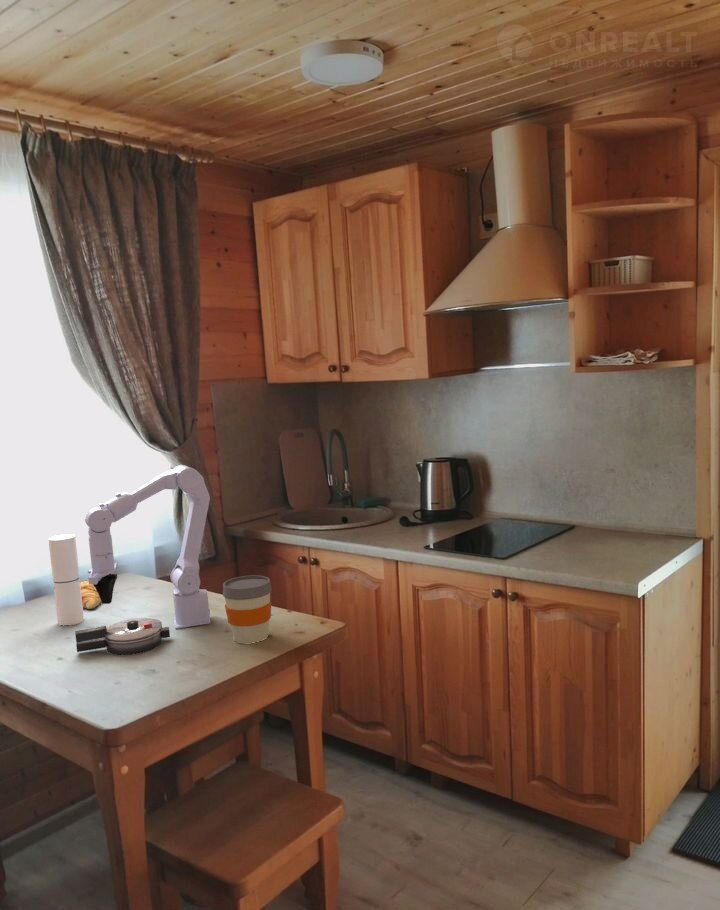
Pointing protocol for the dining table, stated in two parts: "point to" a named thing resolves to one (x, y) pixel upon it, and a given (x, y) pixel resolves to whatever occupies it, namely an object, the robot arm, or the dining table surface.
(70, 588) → the cylindrical container
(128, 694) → the dining table surface
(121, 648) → the pot
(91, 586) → the croissant
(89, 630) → the pressure cooker lid
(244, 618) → the reusable coffee cup
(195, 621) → the robot arm
